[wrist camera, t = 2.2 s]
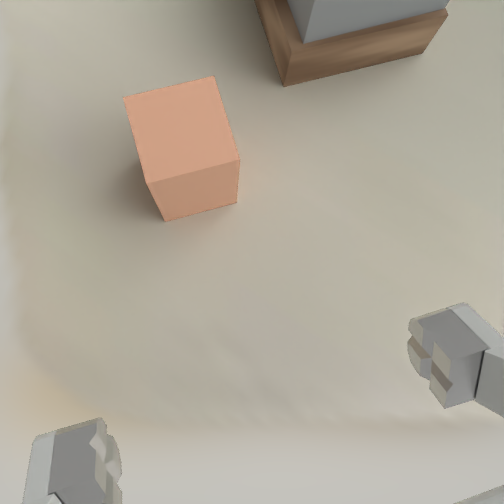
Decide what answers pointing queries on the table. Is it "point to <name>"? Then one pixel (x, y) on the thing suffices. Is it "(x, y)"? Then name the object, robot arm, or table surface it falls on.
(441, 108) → the table surface
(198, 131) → the terracotta block
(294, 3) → the charcoal slab
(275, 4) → the walnut slab
